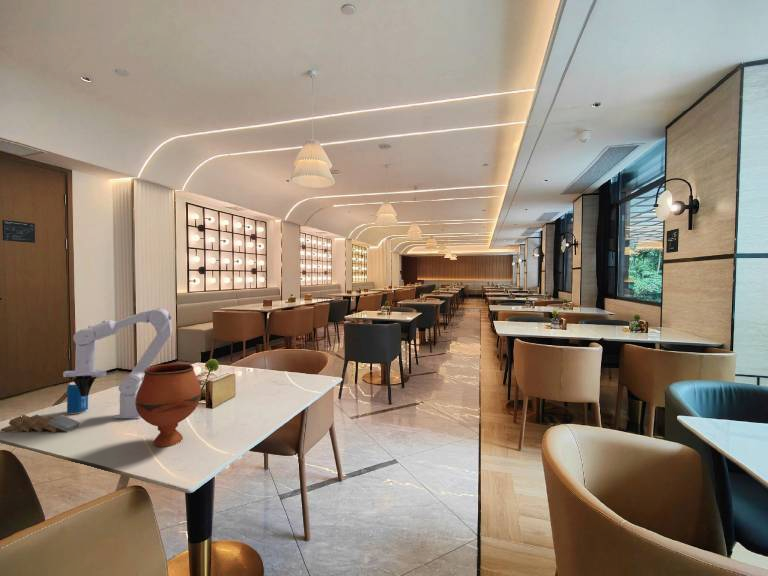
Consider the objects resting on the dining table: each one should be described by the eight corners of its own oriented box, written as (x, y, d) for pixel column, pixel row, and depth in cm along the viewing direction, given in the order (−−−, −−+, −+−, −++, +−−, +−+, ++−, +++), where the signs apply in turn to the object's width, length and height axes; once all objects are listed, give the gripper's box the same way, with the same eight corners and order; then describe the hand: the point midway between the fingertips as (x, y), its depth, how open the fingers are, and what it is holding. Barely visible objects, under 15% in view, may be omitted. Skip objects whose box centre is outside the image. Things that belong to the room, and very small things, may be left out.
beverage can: (75, 415, 141) (76, 385, 141) (62, 414, 142) (63, 384, 142) (92, 410, 148) (92, 381, 147) (79, 408, 149) (79, 380, 149)
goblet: (172, 457, 109) (173, 376, 109) (118, 451, 112) (119, 372, 112) (212, 432, 128) (213, 363, 128) (165, 427, 131) (166, 360, 131)
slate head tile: (80, 422, 131) (62, 414, 131) (68, 427, 126) (49, 420, 126) (78, 426, 131) (60, 418, 131) (66, 432, 126) (48, 424, 126)
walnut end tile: (35, 423, 130) (14, 423, 130) (22, 429, 125) (1, 429, 125) (35, 427, 130) (14, 427, 130) (22, 433, 125) (0, 433, 125)
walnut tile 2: (68, 422, 131) (50, 415, 130) (56, 428, 126) (37, 421, 125) (67, 426, 131) (48, 419, 130) (55, 432, 126) (35, 425, 125)
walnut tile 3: (55, 422, 131) (36, 414, 130) (42, 427, 126) (23, 419, 125) (53, 426, 131) (34, 418, 130) (40, 431, 126) (21, 423, 125)
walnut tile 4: (42, 422, 130) (23, 414, 130) (30, 427, 125) (10, 419, 125) (40, 426, 130) (21, 418, 130) (28, 431, 125) (8, 424, 125)
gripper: (56, 362, 132) (55, 398, 133) (97, 362, 133) (96, 398, 133) (72, 358, 140) (71, 393, 140) (110, 358, 140) (110, 393, 140)
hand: (84, 395), depth 137 cm, fingers closed
